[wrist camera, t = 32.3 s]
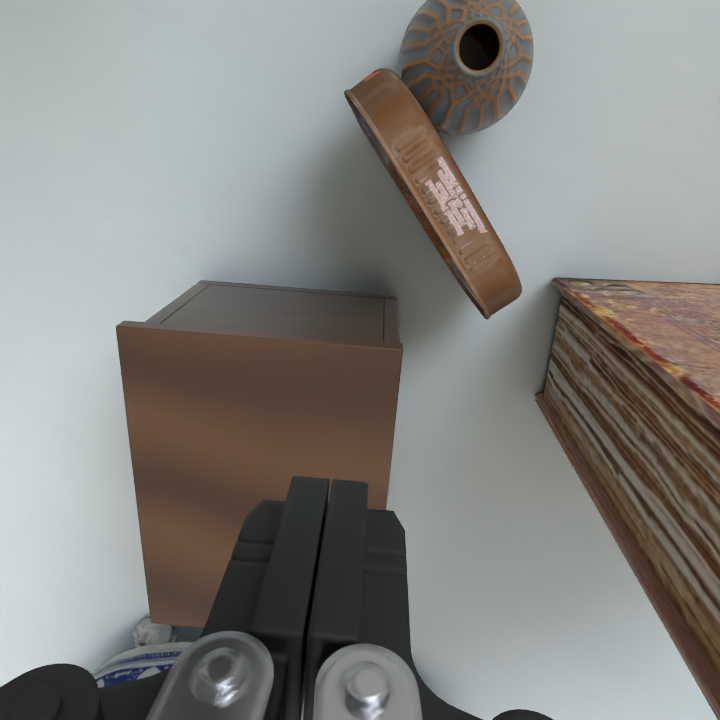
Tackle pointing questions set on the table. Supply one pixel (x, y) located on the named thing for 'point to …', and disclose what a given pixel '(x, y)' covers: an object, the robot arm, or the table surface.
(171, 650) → the decorative bowl
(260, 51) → the table surface
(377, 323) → the chest
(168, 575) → the lid
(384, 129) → the tin
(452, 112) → the vase
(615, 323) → the book
